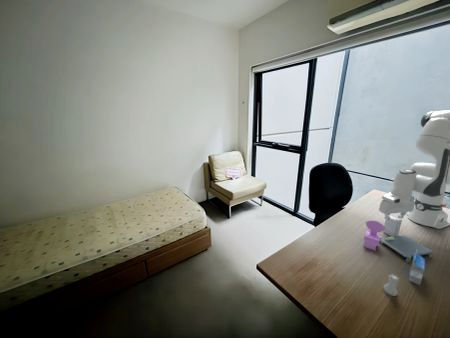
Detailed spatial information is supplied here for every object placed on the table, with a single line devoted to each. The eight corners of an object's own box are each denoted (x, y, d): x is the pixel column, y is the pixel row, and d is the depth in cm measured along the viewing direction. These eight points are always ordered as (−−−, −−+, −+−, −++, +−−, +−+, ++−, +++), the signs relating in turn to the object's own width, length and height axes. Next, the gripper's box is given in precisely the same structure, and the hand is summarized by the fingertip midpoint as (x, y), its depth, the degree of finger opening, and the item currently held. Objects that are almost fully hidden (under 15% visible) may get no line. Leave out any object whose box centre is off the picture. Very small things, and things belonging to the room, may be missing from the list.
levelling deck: (403, 236, 108) (404, 232, 107) (432, 253, 95) (434, 248, 94) (379, 240, 106) (380, 236, 105) (405, 258, 93) (407, 253, 92)
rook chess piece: (380, 287, 80) (384, 272, 78) (389, 286, 80) (394, 271, 78) (389, 297, 76) (394, 281, 74) (399, 296, 76) (405, 280, 74)
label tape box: (420, 286, 80) (428, 263, 77) (407, 280, 83) (414, 257, 80) (420, 274, 86) (428, 252, 83) (408, 269, 89) (416, 247, 86)
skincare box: (397, 237, 111) (403, 220, 108) (393, 239, 110) (398, 221, 106) (386, 232, 117) (390, 215, 113) (381, 233, 115) (386, 216, 112)
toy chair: (359, 247, 104) (365, 223, 100) (362, 239, 110) (367, 217, 106) (378, 254, 99) (385, 229, 95) (380, 245, 105) (386, 222, 101)
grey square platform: (400, 239, 110) (402, 233, 109) (434, 259, 95) (436, 253, 94) (376, 242, 107) (377, 237, 106) (406, 263, 92) (408, 257, 91)
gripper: (408, 193, 111) (402, 214, 114) (379, 196, 107) (374, 217, 111) (421, 198, 105) (414, 220, 108) (390, 200, 101) (384, 223, 105)
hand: (393, 218), depth 110 cm, fingers open, 8 cm apart
